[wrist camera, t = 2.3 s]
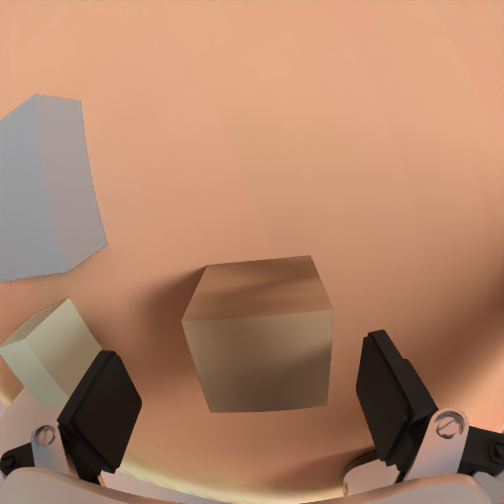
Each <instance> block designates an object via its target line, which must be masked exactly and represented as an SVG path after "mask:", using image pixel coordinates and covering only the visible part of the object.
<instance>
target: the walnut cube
mask: <svg viewBox="0 0 504 504" xmlns="http://www.w3.org/2000/svg"><path fill="white" fill-rule="evenodd" d="M181 323H182V327H183V330H184V334H185V337H186V340H187V344H188V347H189V350H190V353H191V356H192V360H193V363H194V366H195V369H196V372H197V375H198V378H199V381H200V384H201V387H202V389H203V392H204V395H205V398H206V401H207V403H208V406H209V409H210V412H264V411H280V410H292V409H302V408H311V407H318V406H326V405H327V396H328V385H329V374H330V361H331V345H332V324H333V308H332V306H331V303H330V301H329V298H328V296H327V293H326V291H325V289H324V286H323V284H322V281H321V279H320V277H319V274H318V272H317V270H316V267H315V265H314V263H313V260H312V258H311V256H300V257H290V258H280V259H269V260H258V261H248V262H237V263H226V264H215V265H207V267H206V269H205V271H204V273H203V275H202V277H201V279H200V282H199V284H198V286H197V288H196V290H195V292H194V294H193V296H192V298H191V300H190V303H189V305H188V307H187V309H186V311H185V313H184V315H183V318H182V320H181Z"/></svg>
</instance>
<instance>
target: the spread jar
mask: <svg viewBox="0 0 504 504" xmlns="http://www.w3.org/2000/svg"><path fill="white" fill-rule="evenodd" d="M398 473H399V471H398V470H397V467H396V465H392V466H389V467H386V464H385V461H383V462H381V461H380V459H379V457H378V453H377V450H376V451H373V452H370V453H368V454H366V455H364V456H362V457H360V458H358V459H356V460H355V461H353V462H352V463H351V464H350V465H349V466H348V467H347V468H346V470H345V473H344V480H343V493H344V496H349V495H354V494H358V493H362V492H366V491H370V490H374V489H377V488H381V487H385V486H389V485H392V484H393V483H394V481H395V479H396V477H397V475H398Z"/></svg>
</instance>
